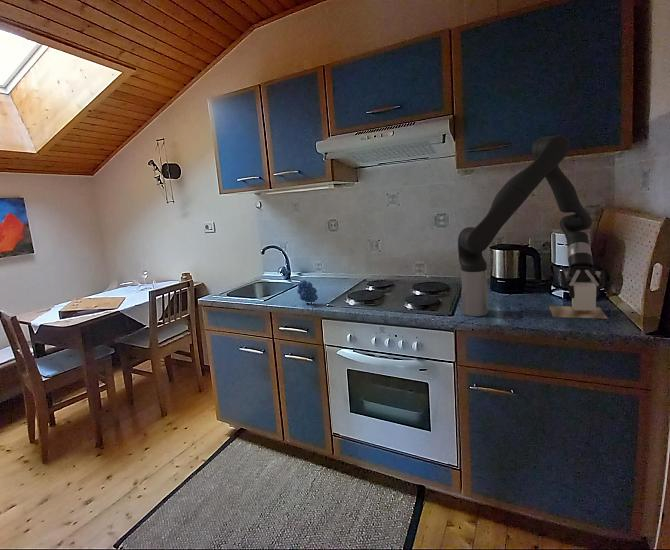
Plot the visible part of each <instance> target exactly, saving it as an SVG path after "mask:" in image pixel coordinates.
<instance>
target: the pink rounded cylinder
mask: <svg viewBox="0 0 670 550" xmlns="http://www.w3.org/2000/svg"><path fill="white" fill-rule="evenodd" d="M577 312H578V313H583V314H587V313H589V310H577Z"/></svg>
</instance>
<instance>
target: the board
mask: <svg viewBox="0 0 670 550" xmlns="http://www.w3.org/2000/svg"><path fill="white" fill-rule="evenodd" d="M549 310H550V312H551V315H552V317H553V318H570V319H571V318H573V319H574V318H575V319H577V318H581V319H609V318H608V317H607V315H606V313H604V311H603V310H602V308H601V307H599V306H596V311H592V310H589V313H587V314H583V313H578V312H577V310H574V308H573V306H567V305H566V306H563V305H562V306H561V305H560V306H559V305H549Z"/></svg>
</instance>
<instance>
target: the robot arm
mask: <svg viewBox="0 0 670 550" xmlns="http://www.w3.org/2000/svg"><path fill="white" fill-rule="evenodd" d="M570 148H571V144H570V140H569V138H568V137H566V136H565V135H558V134H557V135H556V134H555V135H549V136H542V137H539V138H538V139H536V140H535V141H534V142H533V145H532V147H531V154H532V158H534V159H533V162H531V163H530V164H529V165H528V166H526V167H525V168H524V169H522V170H521V171H520V172H518V173H517V174H515V175H514V176H513V177H511V178H510V179H509V180H507V182H506V183H505V184H504V185H503V186H502V187H501V189H500V190H499V191H498V192H497V193H496V195H495V196H494V199H493V200H492V203H491V205H490V208H489V210H488V213H486V215H485V217H484V218H483V219H482V220H481V221H480V222H479V223H478V224H477V225H476V226H475V227H474V226H470V227H464V228H463V229H462V230H461V231H460V233H458V238H457V249H458V250H457V251H458V252H457V253H458V261H459V264H460V270H461V271H460V272H461V273H460V274H461V275H460V276H461V293H460V296H461V314H462V315H463V316H469V317H483V316H486V315H488V314H489V311H488V310H489V307H488V300H489V299H488V297H489V296H488V264H487V261H486V260H485V258H484V256H483V252H484V251H485V250H486V249H488V247H489V246H490V245H491V244H492V242H493V240H494V239H495V238H496V236H497V234H498V233H499V232H500V230H501V229H502V227H503V226H504V225H505V224H506V223H507V222H508V221H509V219H510V218H511V217H512V216H513V215H514V213H516V212H517V210H518V209H519V208H520V207H521V206H522V204H523V203H524V202H526V200H527V199H528V197H529V196H530V195H531V194H532V193H533V192H534V190H535V189H536V188H537V187H538V186H539V184H540V183H541V182H542V181H543V180H544V179H545V180H546V181H547V183H548V186H550V189H551V191H552V193H553V196H554V199H555V201H556V203H557V207H558V210H559V211H560V212H561V213H566V214H567V213H569V215H565V216H563V217H561V219H560V220H559V227H560V229H561V232H562V233H563V234H564V237H565V239H566V245H567V246H566V247H567V253H566V255H567V262H568V263H567V264H568V271H564V270H560V272H559V278H560V281H561V286H562V288H563V289H568V294H569V297H570V298H571V299H572V298H574V287H573V284H574V283H575V282H590V283H593V284H595V285H596V300H597V299H598V298H599V297H600V294H601V292H600V289H603V288H604V287H605V285H606V271H605V270H604V269H602V270H600V271H599V270H596V269H595V268H594V262H593V255H592V254H593V253H592V250H591V246H590V240H589V235H588V234H587V232H585V230H586V231H587V230H588V229H590V228H591V226H593V225H592V224H593V220H592V219H593V218H592V216H591V215H590V213H588V211H587V210H586V209H585V208H584V206H583V205H582V204H581V201H580V199H579V197H578V193H577V190H576V188H575V186H574V184H573V183H572V181H570V179H569V178H568V177H567V176H566V175H565V174H564V172H563V171H562V170H561V167H560V166H559V164H560V163H561V162H562V161H563V160H564V159H565V158H566V156H567V155H568V153H569V150H570ZM570 213H573V214H570ZM567 276H569V278H571V280H570V282H568V281H567V278H568V277H567ZM595 276H596V277H597V278H598V279H599V282H598V281H597V280H596V277H595Z"/></svg>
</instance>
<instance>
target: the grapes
mask: <svg viewBox="0 0 670 550" xmlns="http://www.w3.org/2000/svg"><path fill="white" fill-rule="evenodd" d="M317 292H318V290H317V289H316V288H315V287H313V284H312V282H310V281H306V280H303V279H302V280H301V282H298V283H297V290H296V293H297V294H298V295H299V299H300V300H301V301H304V303H305V302H311V303H312V302H315V303H316V301H317V300H318V299H319V296H318V295H317ZM311 303H310V304H311Z"/></svg>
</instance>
